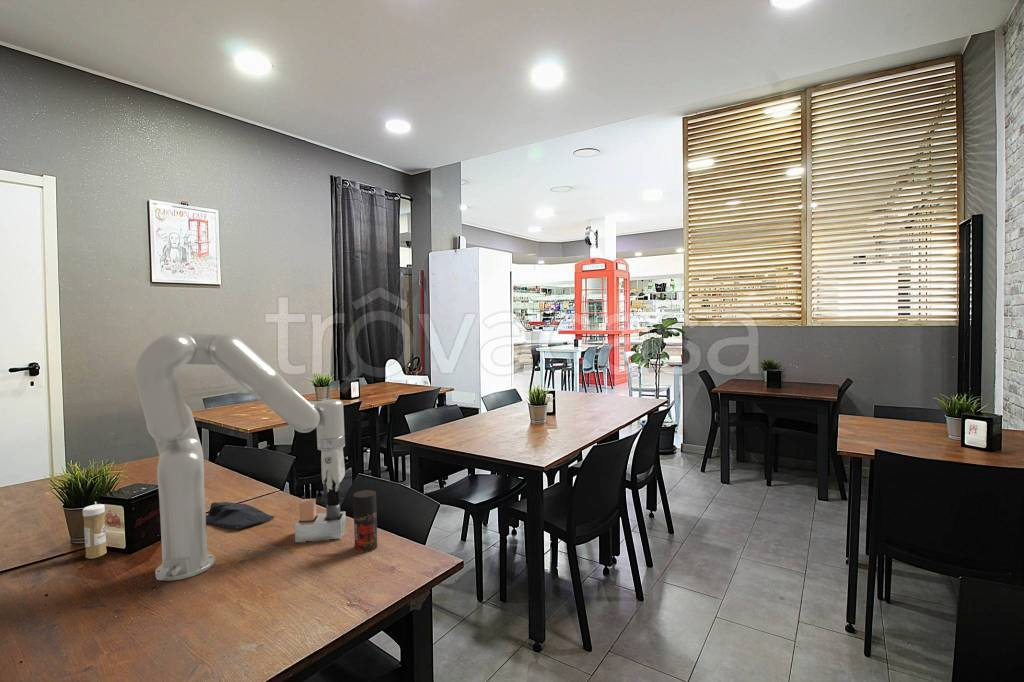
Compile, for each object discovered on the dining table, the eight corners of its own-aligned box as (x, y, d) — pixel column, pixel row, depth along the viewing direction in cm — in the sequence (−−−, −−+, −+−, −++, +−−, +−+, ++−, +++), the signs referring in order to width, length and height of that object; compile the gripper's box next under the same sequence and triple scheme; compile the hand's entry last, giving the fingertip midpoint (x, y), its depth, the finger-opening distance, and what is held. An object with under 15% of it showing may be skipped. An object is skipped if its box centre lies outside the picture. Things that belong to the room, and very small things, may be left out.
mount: (341, 538, 142) (340, 519, 141) (295, 542, 140) (294, 523, 139) (345, 527, 149) (345, 509, 149) (302, 531, 147) (301, 512, 147)
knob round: (339, 523, 143) (338, 506, 143) (325, 524, 143) (324, 507, 143) (341, 518, 147) (340, 501, 147) (328, 519, 146) (327, 502, 146)
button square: (313, 520, 142) (312, 502, 142) (300, 521, 142) (299, 503, 141) (316, 515, 146) (315, 498, 146) (303, 516, 145) (302, 499, 145)
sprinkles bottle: (105, 556, 133) (103, 507, 133) (83, 561, 131) (81, 511, 130) (108, 549, 137) (105, 502, 137) (86, 554, 135) (84, 505, 134)
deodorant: (350, 549, 135) (348, 495, 134) (366, 541, 140) (364, 488, 139) (366, 554, 132) (364, 498, 131) (382, 545, 137) (380, 491, 137)
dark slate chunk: (231, 537, 145) (230, 521, 145) (194, 521, 157) (194, 506, 157) (280, 519, 158) (279, 504, 158) (243, 506, 170) (242, 492, 170)
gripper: (340, 448, 137) (342, 512, 138) (348, 435, 152) (351, 494, 153) (311, 449, 136) (314, 515, 137) (323, 437, 151) (325, 496, 152)
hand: (334, 504), depth 145 cm, fingers closed
